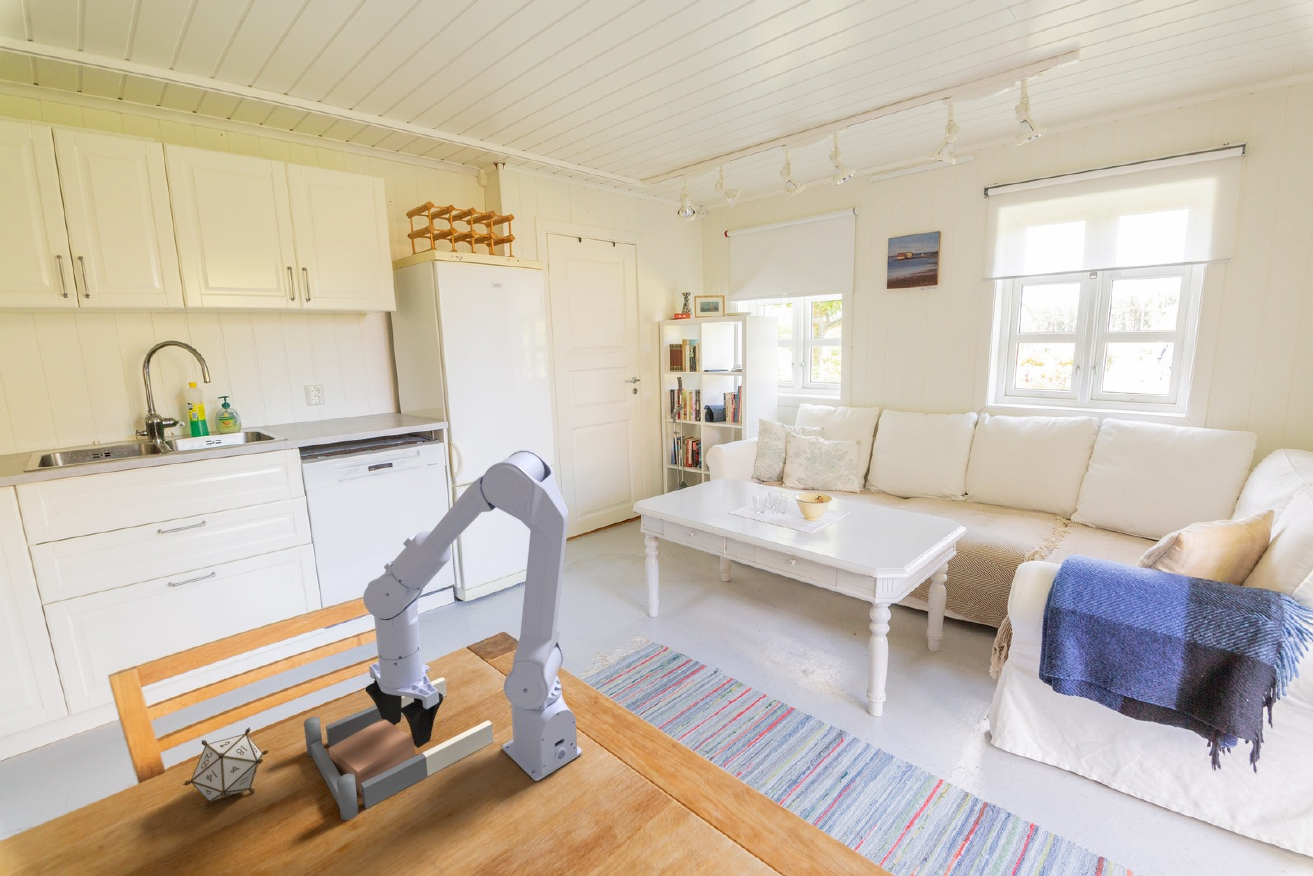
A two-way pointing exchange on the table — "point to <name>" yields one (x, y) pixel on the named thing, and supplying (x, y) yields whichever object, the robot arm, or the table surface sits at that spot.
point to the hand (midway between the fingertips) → (407, 733)
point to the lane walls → (454, 739)
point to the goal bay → (345, 784)
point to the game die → (227, 767)
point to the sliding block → (372, 751)
